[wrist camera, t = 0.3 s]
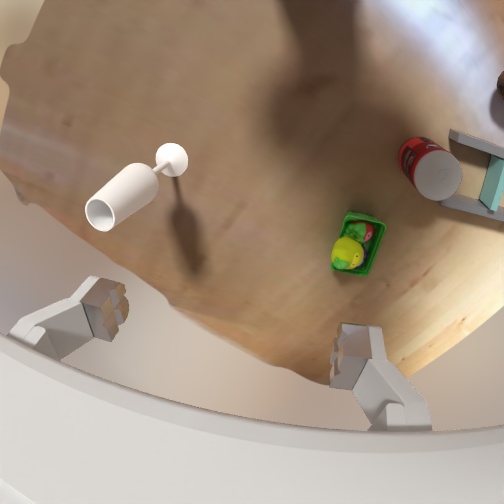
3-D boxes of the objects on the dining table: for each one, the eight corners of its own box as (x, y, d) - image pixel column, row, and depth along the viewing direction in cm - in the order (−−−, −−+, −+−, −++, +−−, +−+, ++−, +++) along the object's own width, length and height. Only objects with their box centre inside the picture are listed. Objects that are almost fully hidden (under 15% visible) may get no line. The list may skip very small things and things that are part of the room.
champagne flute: (169, 183, 60) (101, 245, 40) (149, 155, 58) (71, 206, 37) (195, 165, 57) (131, 223, 37) (174, 135, 55) (98, 179, 35)
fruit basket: (365, 262, 62) (372, 298, 52) (322, 254, 62) (322, 289, 53) (382, 211, 55) (395, 242, 46) (336, 201, 56) (341, 230, 47)
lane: (450, 128, 45) (472, 139, 37) (539, 163, 42) (564, 179, 34) (433, 196, 52) (450, 217, 44) (521, 220, 49) (542, 242, 42)
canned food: (445, 162, 48) (470, 182, 39) (412, 186, 52) (430, 211, 42) (423, 126, 46) (447, 140, 37) (389, 152, 50) (405, 171, 40)
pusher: (491, 154, 44) (504, 162, 40) (497, 156, 44) (510, 164, 40) (479, 198, 49) (490, 209, 45) (485, 200, 49) (496, 211, 45)
